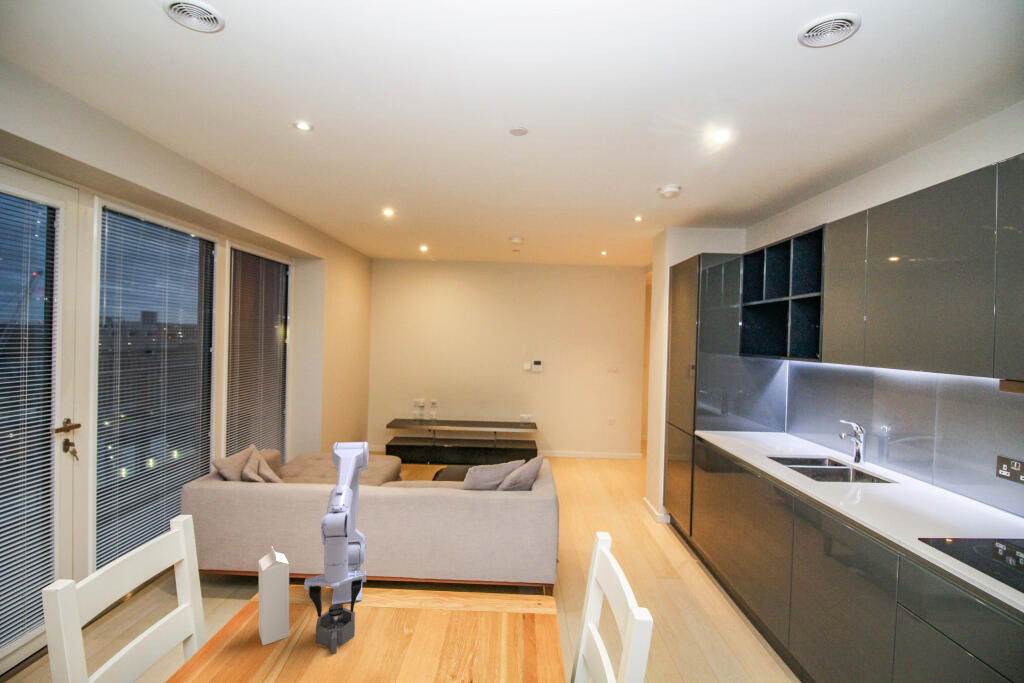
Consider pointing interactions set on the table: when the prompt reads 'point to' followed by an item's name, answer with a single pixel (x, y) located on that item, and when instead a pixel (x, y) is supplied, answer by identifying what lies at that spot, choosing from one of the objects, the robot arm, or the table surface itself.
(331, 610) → the plunger
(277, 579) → the milk
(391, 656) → the table surface
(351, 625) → the grey jug
